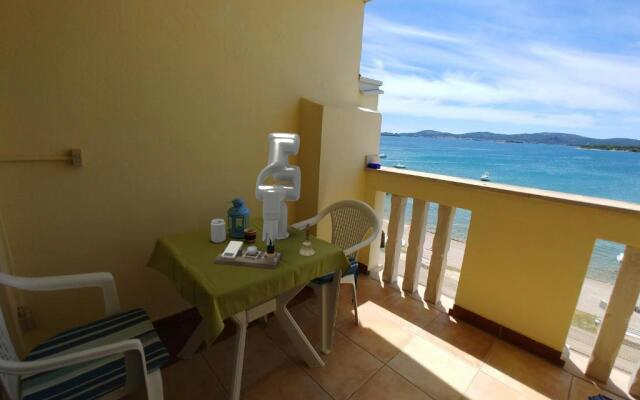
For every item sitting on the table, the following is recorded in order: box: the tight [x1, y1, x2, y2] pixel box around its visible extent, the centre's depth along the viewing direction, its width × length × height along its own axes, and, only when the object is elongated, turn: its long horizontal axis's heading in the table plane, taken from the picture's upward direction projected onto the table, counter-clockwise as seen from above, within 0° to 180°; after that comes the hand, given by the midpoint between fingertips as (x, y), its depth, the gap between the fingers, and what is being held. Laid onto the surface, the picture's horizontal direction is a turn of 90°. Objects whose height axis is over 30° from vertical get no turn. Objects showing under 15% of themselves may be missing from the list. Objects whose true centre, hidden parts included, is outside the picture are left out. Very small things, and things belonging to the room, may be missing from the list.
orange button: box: [266, 251, 276, 258], centre depth 123 cm, size 4×4×2 cm
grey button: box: [246, 245, 258, 255], centre depth 124 cm, size 4×4×2 cm
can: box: [210, 218, 227, 244], centre depth 143 cm, size 8×8×12 cm
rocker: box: [222, 240, 244, 259], centre depth 124 cm, size 11×6×1 cm, turn 175°
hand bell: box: [298, 222, 316, 257], centre depth 134 cm, size 8×8×16 cm
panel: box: [213, 246, 282, 270], centre depth 124 cm, size 13×28×5 cm, turn 85°
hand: (270, 253), depth 123 cm, fingers closed
